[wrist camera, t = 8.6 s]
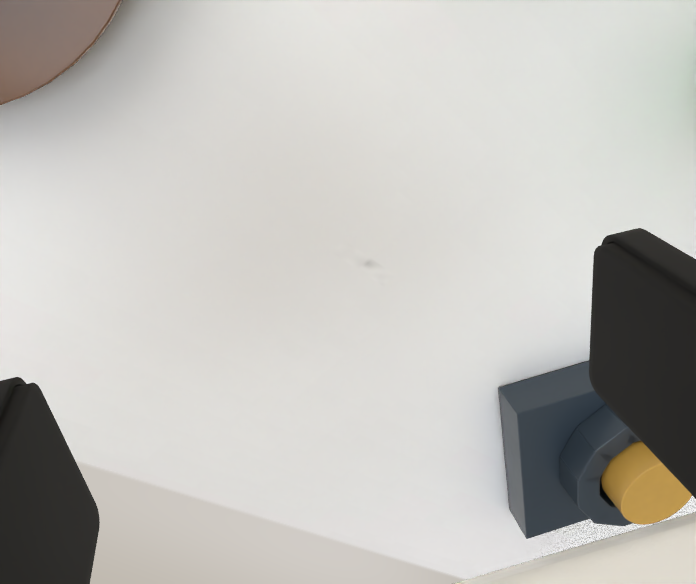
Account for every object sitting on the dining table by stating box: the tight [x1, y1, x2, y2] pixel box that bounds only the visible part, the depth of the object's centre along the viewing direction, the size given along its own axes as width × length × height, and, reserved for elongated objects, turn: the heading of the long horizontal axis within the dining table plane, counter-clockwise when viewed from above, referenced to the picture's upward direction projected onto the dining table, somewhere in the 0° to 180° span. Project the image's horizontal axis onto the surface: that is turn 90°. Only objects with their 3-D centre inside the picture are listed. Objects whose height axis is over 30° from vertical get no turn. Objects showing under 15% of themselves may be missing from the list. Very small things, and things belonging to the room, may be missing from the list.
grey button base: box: [499, 361, 641, 539], centre depth 33 cm, size 11×9×4 cm
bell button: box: [601, 441, 692, 525], centre depth 31 cm, size 4×4×2 cm
